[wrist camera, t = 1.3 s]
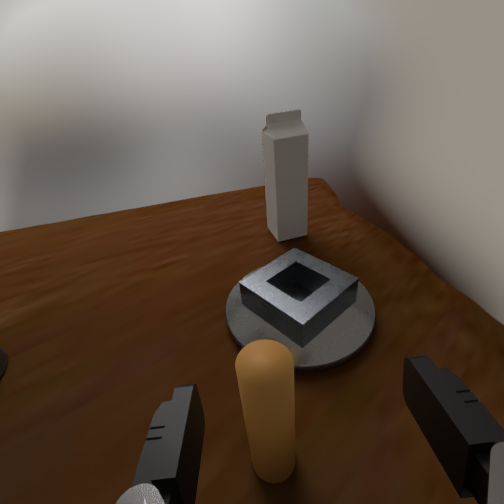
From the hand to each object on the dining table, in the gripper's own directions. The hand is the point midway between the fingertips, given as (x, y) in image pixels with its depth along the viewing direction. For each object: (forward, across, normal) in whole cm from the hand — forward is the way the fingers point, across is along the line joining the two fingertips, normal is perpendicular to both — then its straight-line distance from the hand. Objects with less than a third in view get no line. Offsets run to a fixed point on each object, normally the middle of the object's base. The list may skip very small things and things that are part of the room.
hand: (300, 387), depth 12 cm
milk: (+51, -5, +11) cm, 52 cm away
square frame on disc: (+29, -3, +15) cm, 33 cm away
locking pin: (+11, +2, +19) cm, 22 cm away
